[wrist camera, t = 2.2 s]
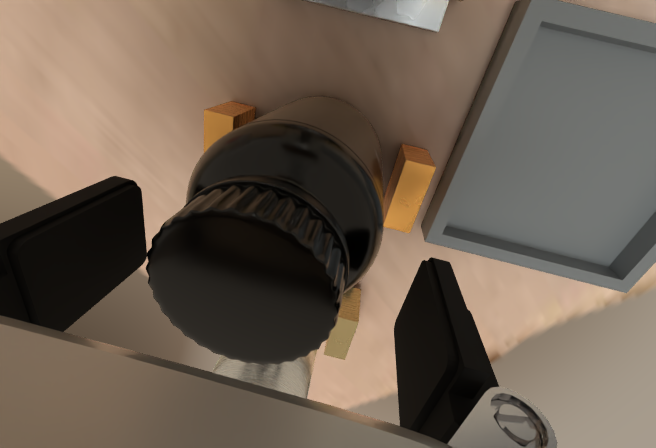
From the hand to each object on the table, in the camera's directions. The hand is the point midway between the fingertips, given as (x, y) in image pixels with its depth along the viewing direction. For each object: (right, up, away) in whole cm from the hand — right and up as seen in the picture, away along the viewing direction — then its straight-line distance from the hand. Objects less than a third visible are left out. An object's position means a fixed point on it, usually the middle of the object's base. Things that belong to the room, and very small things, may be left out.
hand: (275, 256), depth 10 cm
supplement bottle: (+1, +5, +8) cm, 9 cm away
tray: (+14, +4, +6) cm, 16 cm away
